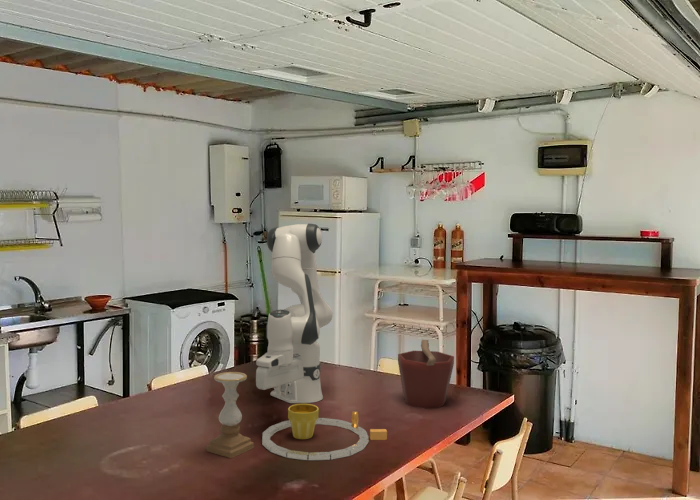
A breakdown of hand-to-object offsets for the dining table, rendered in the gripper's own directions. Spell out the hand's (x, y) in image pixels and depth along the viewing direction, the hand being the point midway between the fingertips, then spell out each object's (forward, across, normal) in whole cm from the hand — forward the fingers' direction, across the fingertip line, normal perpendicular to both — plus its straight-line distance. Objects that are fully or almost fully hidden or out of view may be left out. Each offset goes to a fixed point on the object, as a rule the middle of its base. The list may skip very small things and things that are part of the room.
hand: (281, 396), depth 218 cm
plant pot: (+12, -1, +10) cm, 16 cm away
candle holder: (+12, +24, 0) cm, 26 cm away
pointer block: (+13, -15, +30) cm, 36 cm away
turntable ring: (+12, -1, +15) cm, 19 cm away
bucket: (+13, -62, +19) cm, 66 cm away
